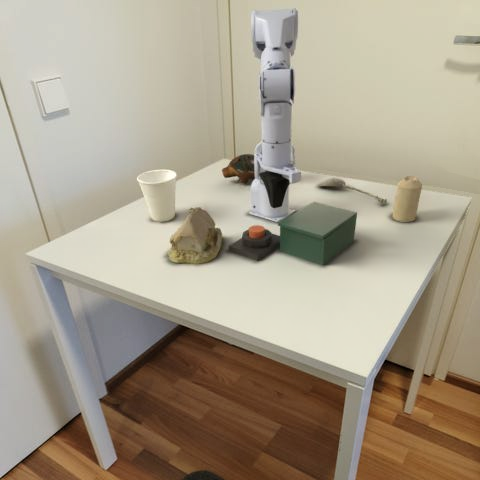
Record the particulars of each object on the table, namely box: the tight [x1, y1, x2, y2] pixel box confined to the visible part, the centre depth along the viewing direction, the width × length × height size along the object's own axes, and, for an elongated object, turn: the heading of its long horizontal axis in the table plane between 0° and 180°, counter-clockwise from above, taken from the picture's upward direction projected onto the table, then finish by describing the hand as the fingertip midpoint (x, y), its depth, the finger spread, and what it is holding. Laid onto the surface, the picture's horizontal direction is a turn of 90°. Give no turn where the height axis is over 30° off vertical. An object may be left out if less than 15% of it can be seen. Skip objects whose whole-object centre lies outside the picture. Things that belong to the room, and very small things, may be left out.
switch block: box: [228, 228, 280, 262], centre depth 102 cm, size 8×10×3 cm
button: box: [248, 224, 266, 239], centre depth 101 cm, size 4×4×2 cm
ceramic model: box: [167, 206, 223, 265], centre depth 100 cm, size 14×11×10 cm
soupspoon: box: [319, 177, 388, 206], centre depth 125 cm, size 22×3×7 cm
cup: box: [136, 169, 178, 223], centre depth 115 cm, size 10×10×11 cm
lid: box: [277, 201, 358, 239], centre depth 98 cm, size 14×11×1 cm
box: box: [279, 215, 358, 267], centre depth 100 cm, size 14×11×6 cm
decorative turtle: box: [221, 153, 255, 185], centre depth 135 cm, size 10×15×8 cm, turn 101°
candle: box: [392, 175, 423, 223], centre depth 109 cm, size 6×6×10 cm
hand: (276, 206), depth 95 cm, fingers closed
